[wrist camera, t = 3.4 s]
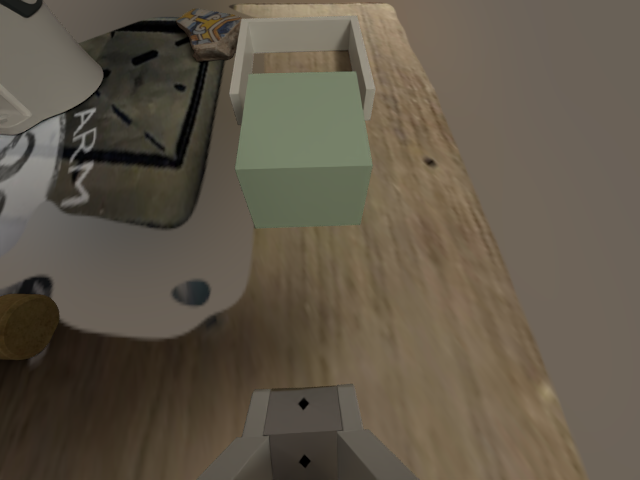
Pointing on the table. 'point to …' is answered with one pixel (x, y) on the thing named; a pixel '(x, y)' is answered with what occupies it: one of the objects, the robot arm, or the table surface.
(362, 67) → the box
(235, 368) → the table surface
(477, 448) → the table surface
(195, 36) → the ceramic tile fragment
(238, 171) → the block
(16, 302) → the gavel
